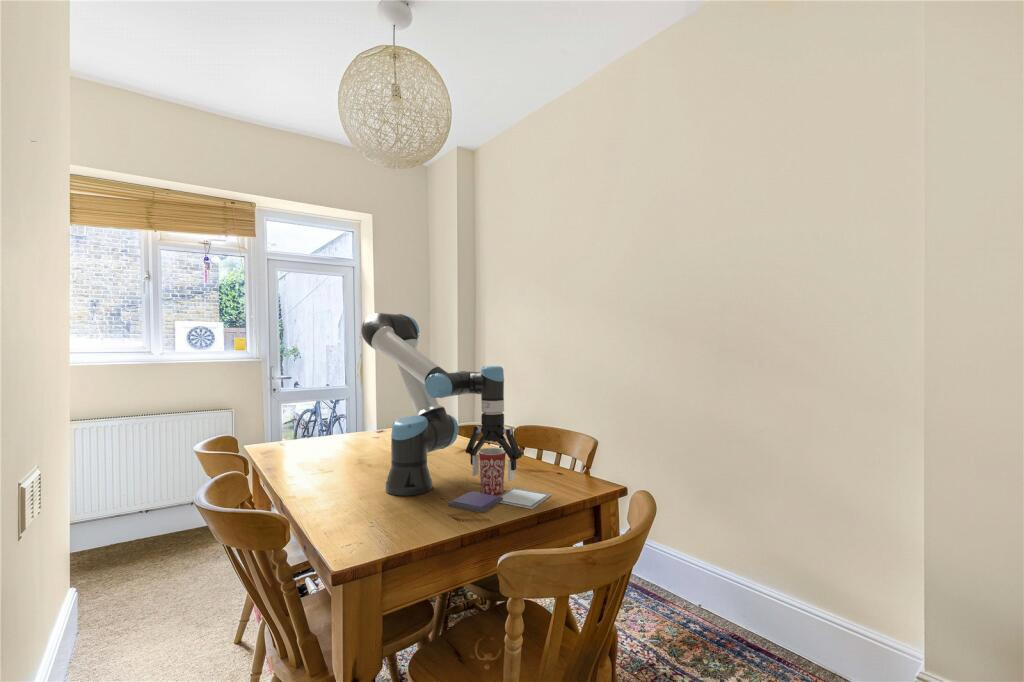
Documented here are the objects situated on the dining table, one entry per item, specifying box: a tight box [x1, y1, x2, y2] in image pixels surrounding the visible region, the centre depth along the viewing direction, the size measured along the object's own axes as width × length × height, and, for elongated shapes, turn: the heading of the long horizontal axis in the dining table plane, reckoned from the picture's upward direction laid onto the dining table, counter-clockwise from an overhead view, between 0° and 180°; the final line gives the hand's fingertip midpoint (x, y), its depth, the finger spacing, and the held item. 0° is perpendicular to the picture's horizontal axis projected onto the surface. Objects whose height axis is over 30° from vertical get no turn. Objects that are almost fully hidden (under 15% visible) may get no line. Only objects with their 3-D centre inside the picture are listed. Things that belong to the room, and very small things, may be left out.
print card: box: [498, 487, 552, 510], centre depth 145 cm, size 14×14×1 cm
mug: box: [478, 447, 507, 496], centre depth 153 cm, size 13×9×14 cm
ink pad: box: [447, 491, 503, 514], centre depth 140 cm, size 12×12×1 cm
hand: (493, 477), depth 152 cm, fingers open, 13 cm apart
